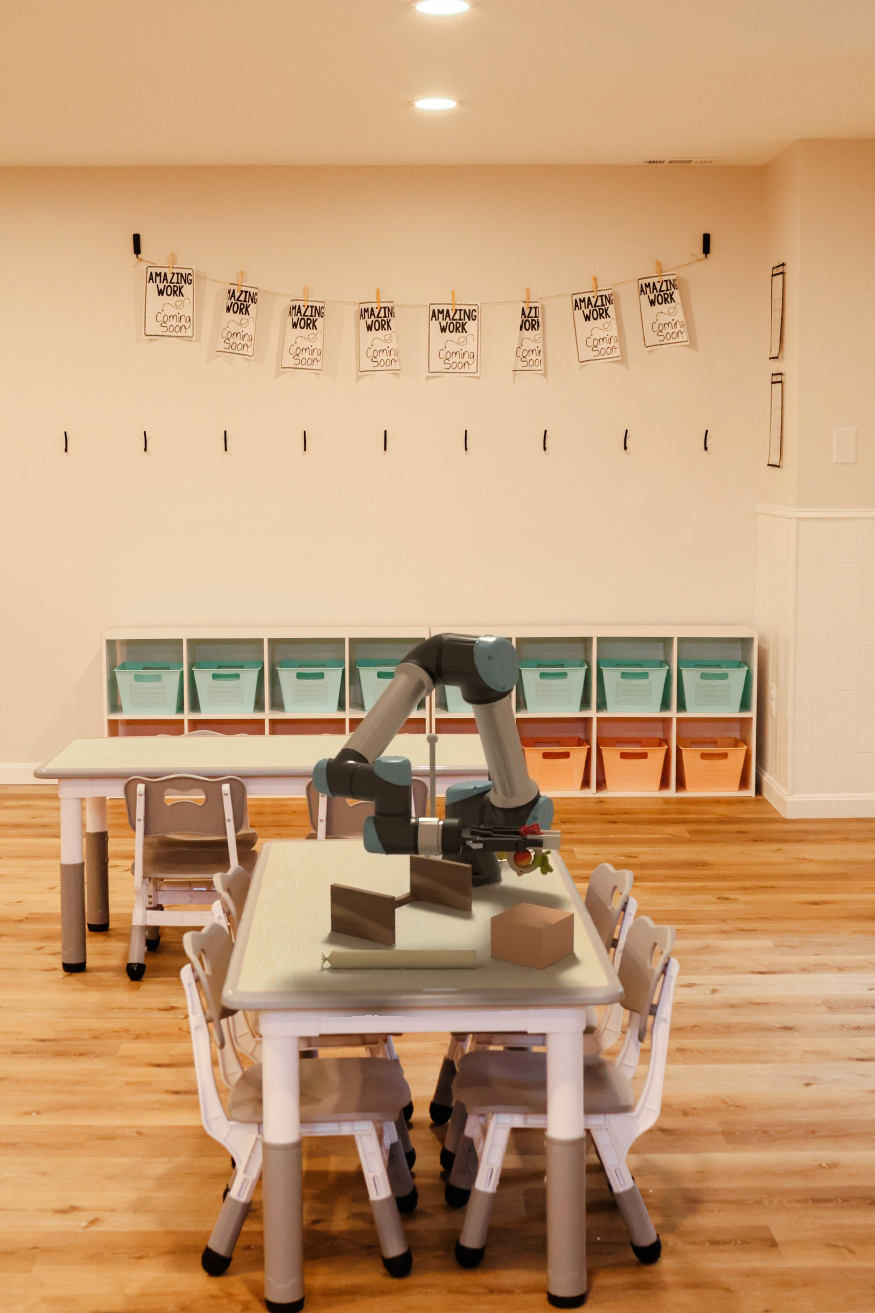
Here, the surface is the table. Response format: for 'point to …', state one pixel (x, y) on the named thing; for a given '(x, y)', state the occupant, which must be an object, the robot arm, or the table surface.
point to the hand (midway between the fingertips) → (560, 840)
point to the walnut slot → (399, 899)
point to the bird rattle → (529, 855)
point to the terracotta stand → (532, 935)
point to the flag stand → (432, 773)
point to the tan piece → (401, 959)
